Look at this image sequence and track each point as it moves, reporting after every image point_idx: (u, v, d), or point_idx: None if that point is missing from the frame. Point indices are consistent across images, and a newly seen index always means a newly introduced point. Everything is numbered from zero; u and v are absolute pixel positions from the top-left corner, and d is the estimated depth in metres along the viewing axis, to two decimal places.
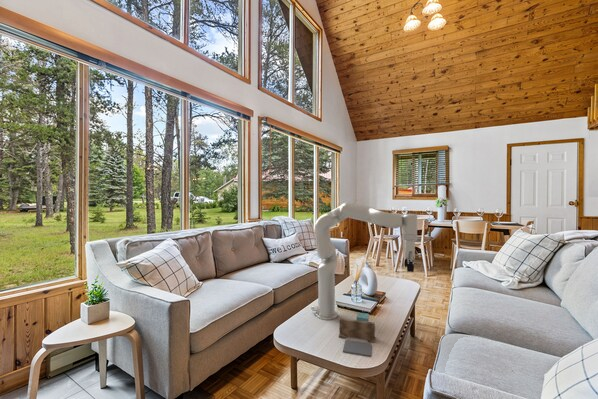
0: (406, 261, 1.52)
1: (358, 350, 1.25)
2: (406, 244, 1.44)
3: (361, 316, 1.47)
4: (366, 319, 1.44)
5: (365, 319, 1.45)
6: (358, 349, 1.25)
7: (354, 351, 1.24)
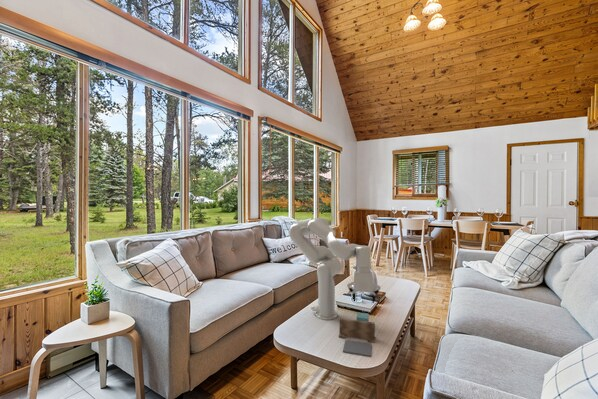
0: (355, 295, 1.48)
1: (358, 350, 1.25)
2: (371, 276, 1.44)
3: (361, 316, 1.47)
4: (366, 319, 1.44)
5: (365, 319, 1.45)
6: (358, 349, 1.25)
7: (354, 351, 1.24)
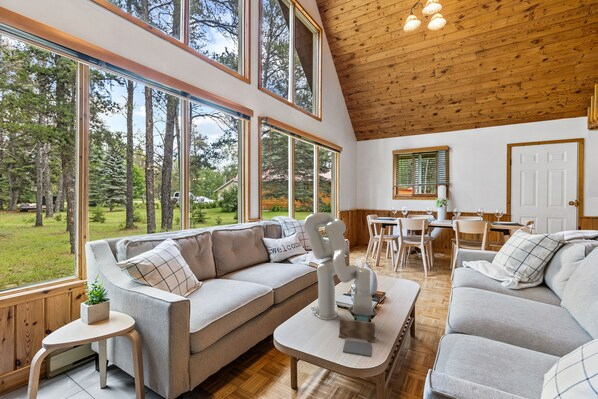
0: None
1: (358, 350, 1.25)
2: (371, 300, 1.44)
3: (361, 316, 1.47)
4: (366, 319, 1.44)
5: (365, 319, 1.45)
6: (358, 349, 1.25)
7: (354, 351, 1.24)
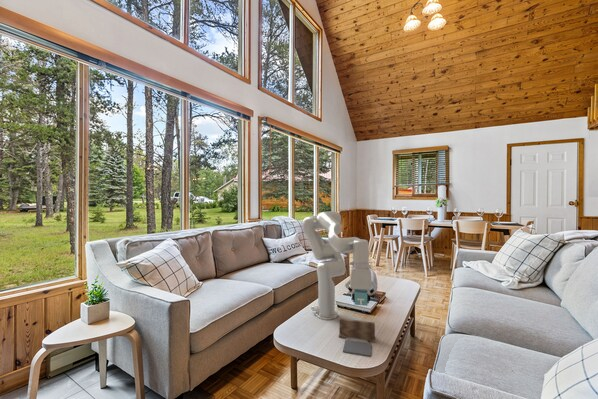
0: (354, 295, 1.36)
1: (358, 350, 1.25)
2: (370, 273, 1.33)
3: (359, 291, 1.35)
4: (365, 294, 1.32)
5: (364, 294, 1.32)
6: (358, 349, 1.25)
7: (354, 351, 1.24)
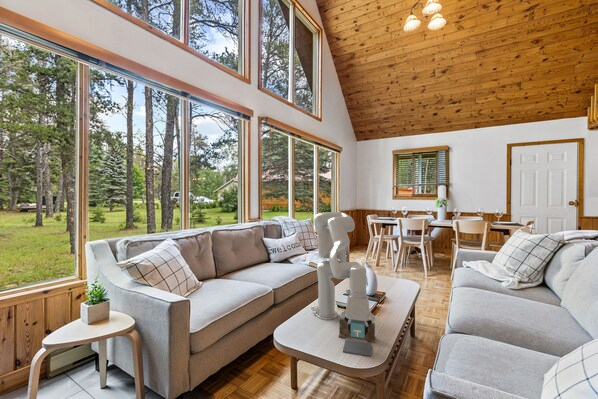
0: None
1: (358, 350, 1.25)
2: (367, 303, 1.23)
3: (356, 322, 1.25)
4: (362, 325, 1.23)
5: (361, 325, 1.23)
6: (358, 349, 1.25)
7: (354, 351, 1.24)
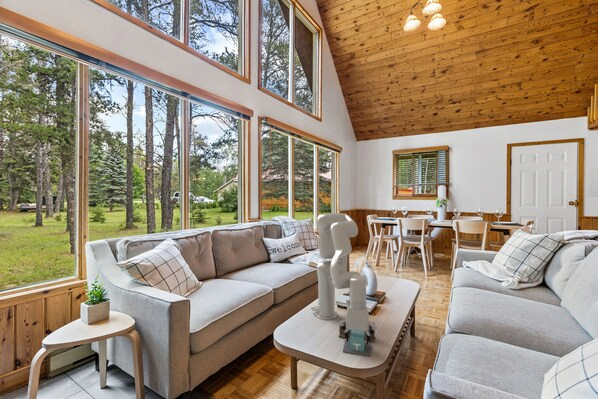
0: (348, 334, 1.28)
1: None
2: (367, 314, 1.24)
3: (356, 335, 1.26)
4: (361, 339, 1.24)
5: (360, 339, 1.24)
6: None
7: (354, 351, 1.24)
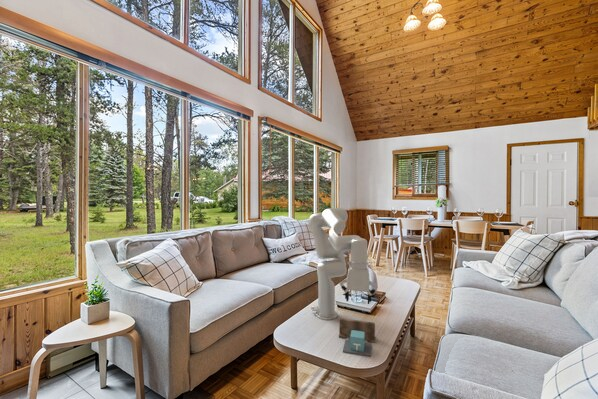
0: (348, 294, 1.29)
1: None
2: (368, 274, 1.25)
3: (356, 335, 1.26)
4: (361, 339, 1.24)
5: (360, 339, 1.24)
6: None
7: (354, 351, 1.24)
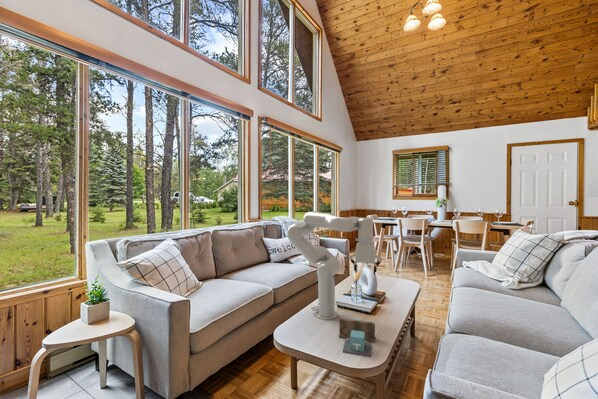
0: (356, 267, 1.49)
1: None
2: (373, 248, 1.45)
3: (356, 335, 1.26)
4: (361, 339, 1.24)
5: (360, 339, 1.24)
6: None
7: (354, 351, 1.24)
